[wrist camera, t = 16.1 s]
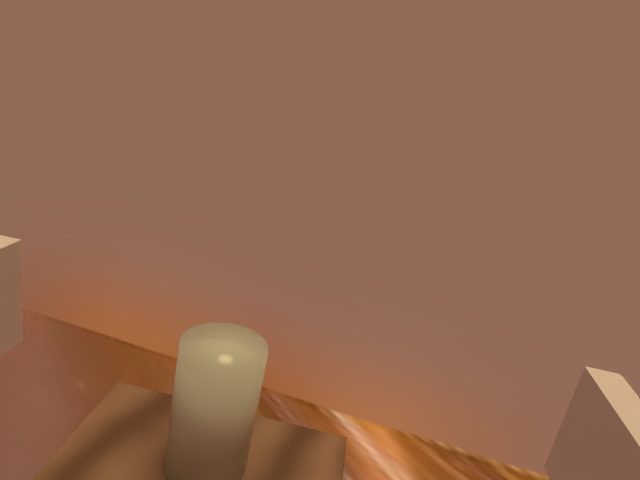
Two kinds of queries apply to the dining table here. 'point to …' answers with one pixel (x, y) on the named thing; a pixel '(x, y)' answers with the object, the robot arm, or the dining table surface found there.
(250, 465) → the walnut board
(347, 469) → the dining table surface
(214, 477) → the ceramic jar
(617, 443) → the robot arm
